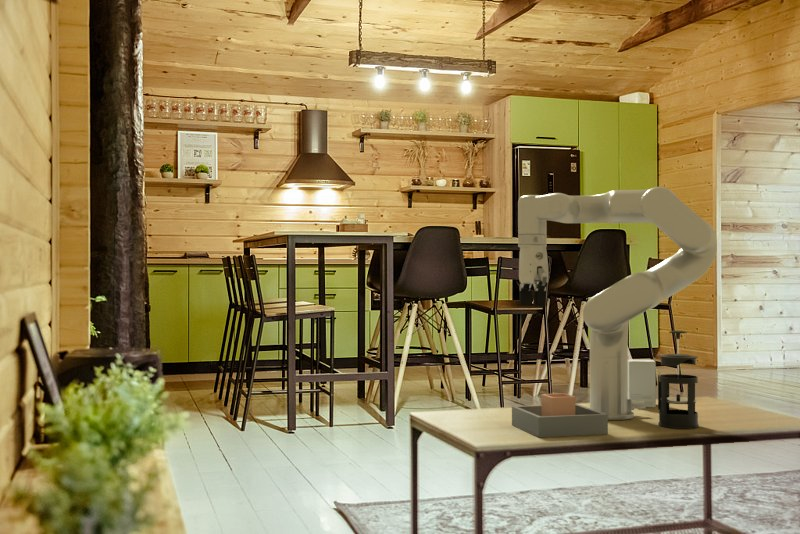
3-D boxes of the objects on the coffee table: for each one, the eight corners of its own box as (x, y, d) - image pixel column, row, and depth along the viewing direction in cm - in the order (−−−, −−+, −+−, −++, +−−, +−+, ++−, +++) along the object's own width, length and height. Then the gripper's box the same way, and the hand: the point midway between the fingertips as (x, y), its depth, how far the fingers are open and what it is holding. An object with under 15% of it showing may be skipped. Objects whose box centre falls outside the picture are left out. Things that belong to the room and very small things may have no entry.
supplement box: (656, 407, 243) (656, 361, 244) (628, 406, 245) (628, 361, 245) (654, 403, 251) (653, 359, 251) (627, 403, 252) (626, 358, 252)
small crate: (564, 422, 214) (564, 393, 214) (575, 426, 208) (575, 396, 208) (541, 423, 212) (541, 394, 212) (551, 427, 206) (551, 397, 206)
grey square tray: (576, 422, 220) (576, 403, 220) (607, 434, 204) (607, 414, 204) (511, 424, 216) (511, 406, 216) (538, 437, 200) (538, 417, 200)
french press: (709, 427, 211) (709, 331, 211) (678, 430, 208) (677, 332, 208) (675, 420, 222) (675, 328, 222) (645, 423, 218) (645, 329, 219)
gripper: (558, 240, 229) (558, 306, 229) (533, 242, 246) (533, 304, 246) (531, 240, 227) (531, 307, 227) (507, 242, 244) (507, 304, 244)
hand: (532, 305), depth 236 cm, fingers open, 9 cm apart
